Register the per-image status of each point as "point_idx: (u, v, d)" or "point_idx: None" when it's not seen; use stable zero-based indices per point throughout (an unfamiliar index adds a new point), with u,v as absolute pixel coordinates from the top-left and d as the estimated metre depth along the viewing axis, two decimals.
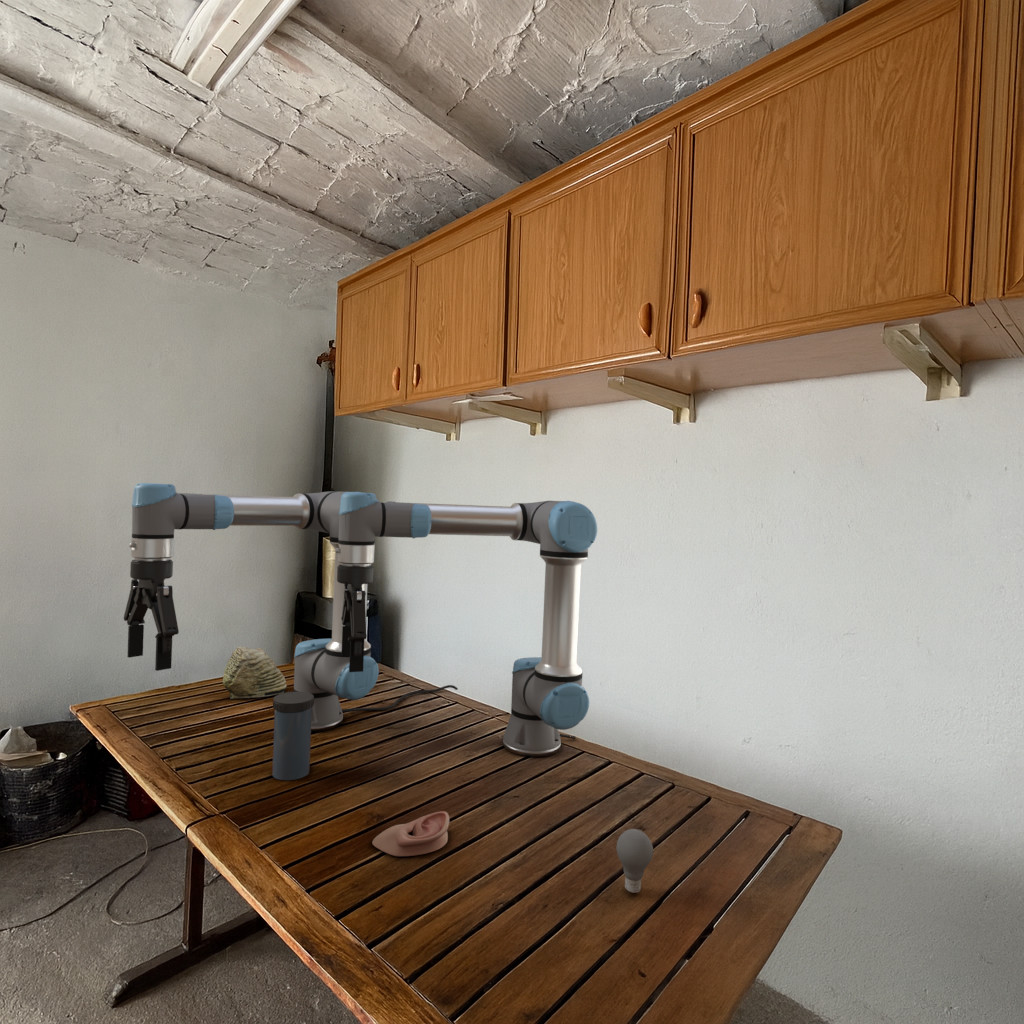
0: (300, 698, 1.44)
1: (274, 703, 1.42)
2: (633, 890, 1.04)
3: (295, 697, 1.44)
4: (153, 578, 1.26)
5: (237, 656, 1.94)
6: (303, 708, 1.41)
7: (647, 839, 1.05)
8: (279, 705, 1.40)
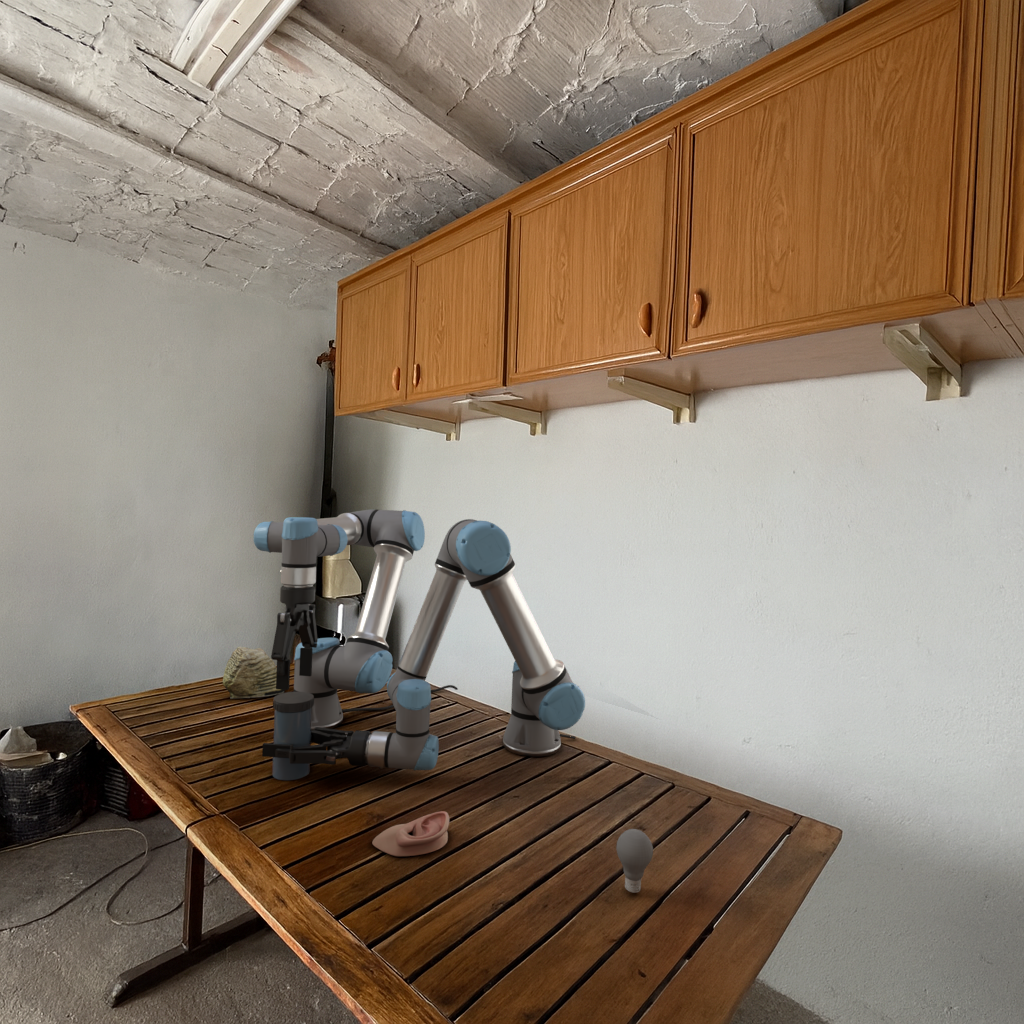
0: (300, 698, 1.44)
1: (274, 703, 1.42)
2: (633, 890, 1.04)
3: (295, 697, 1.44)
4: (285, 602, 1.40)
5: (237, 656, 1.94)
6: (303, 708, 1.41)
7: (647, 839, 1.05)
8: (279, 705, 1.40)
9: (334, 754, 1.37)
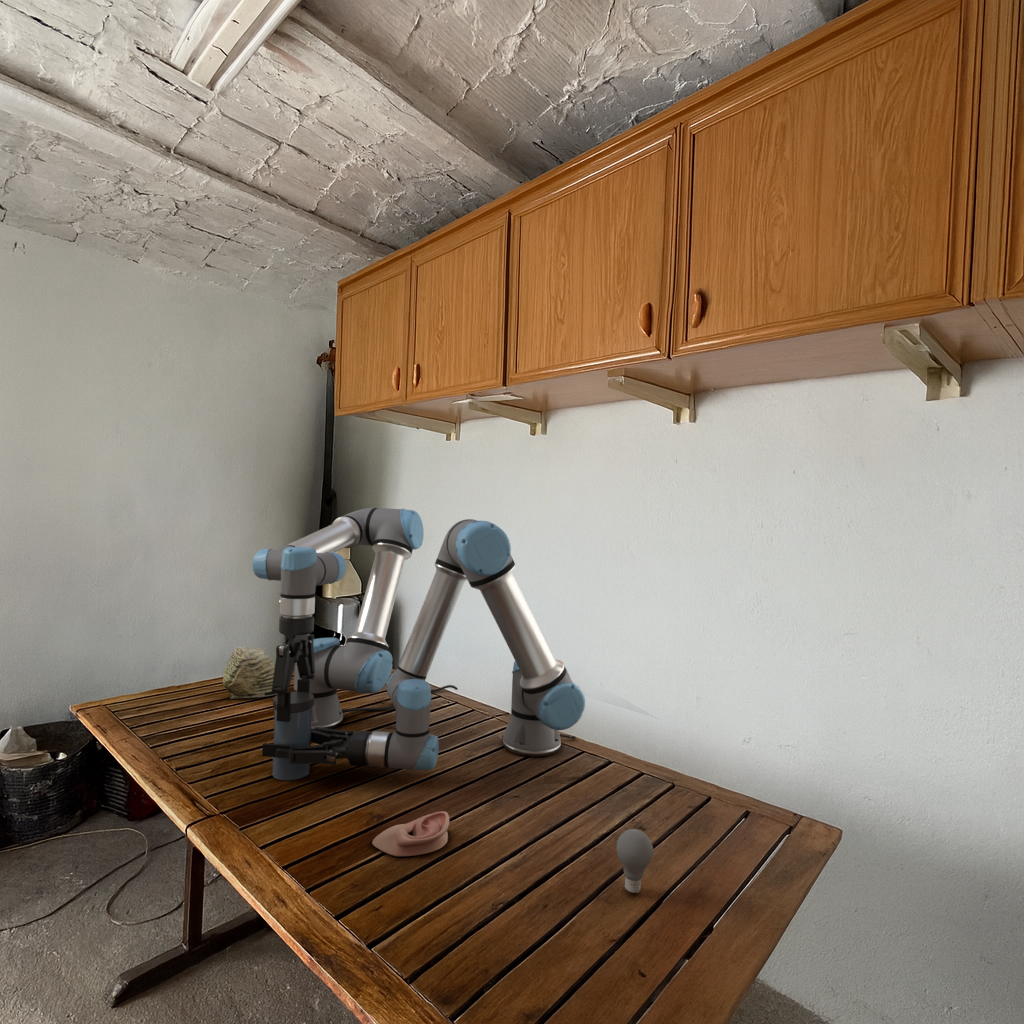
0: (300, 698, 1.44)
1: (274, 703, 1.42)
2: (633, 890, 1.04)
3: (295, 697, 1.44)
4: (284, 633, 1.41)
5: (237, 656, 1.94)
6: (303, 708, 1.41)
7: (647, 839, 1.05)
8: None
9: (334, 754, 1.37)
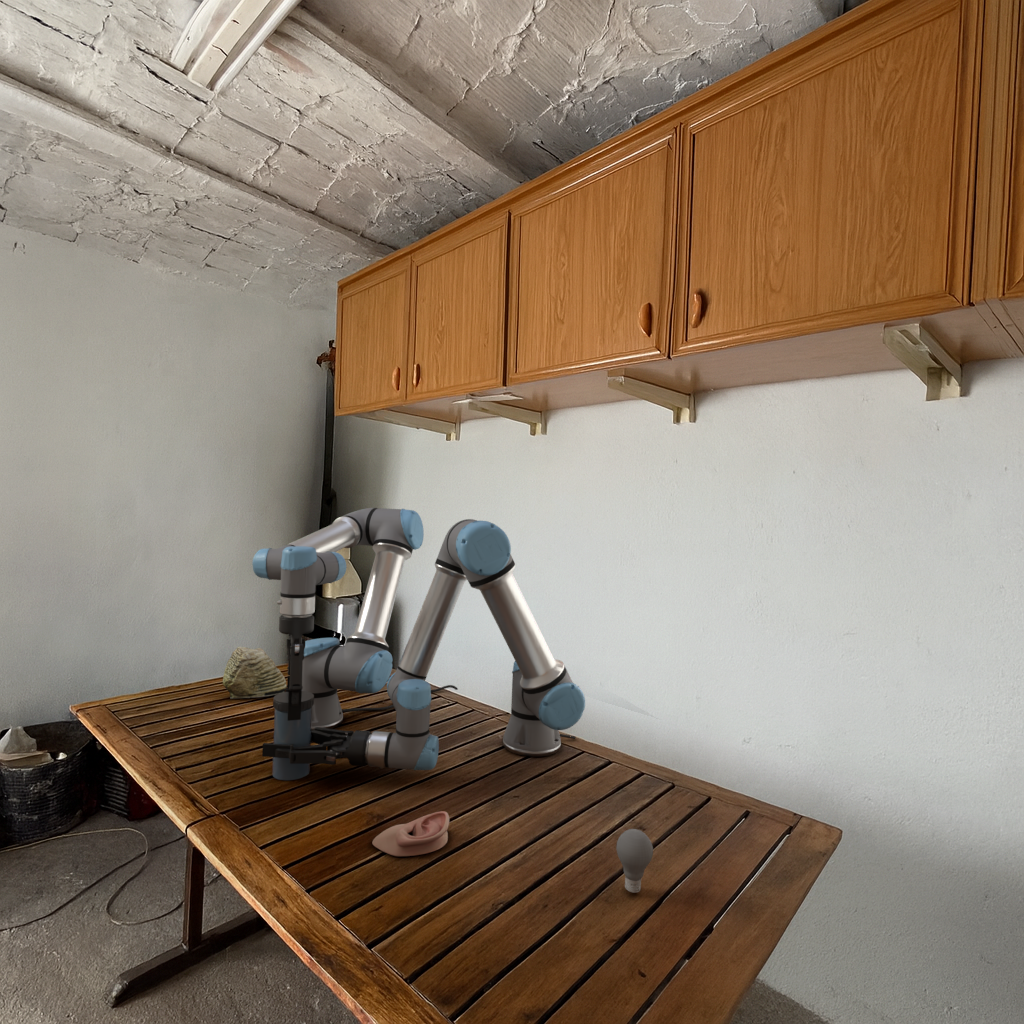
0: None
1: None
2: (633, 890, 1.04)
3: None
4: (291, 633, 1.40)
5: (237, 656, 1.94)
6: None
7: (647, 839, 1.05)
8: (302, 704, 1.41)
9: (334, 754, 1.37)
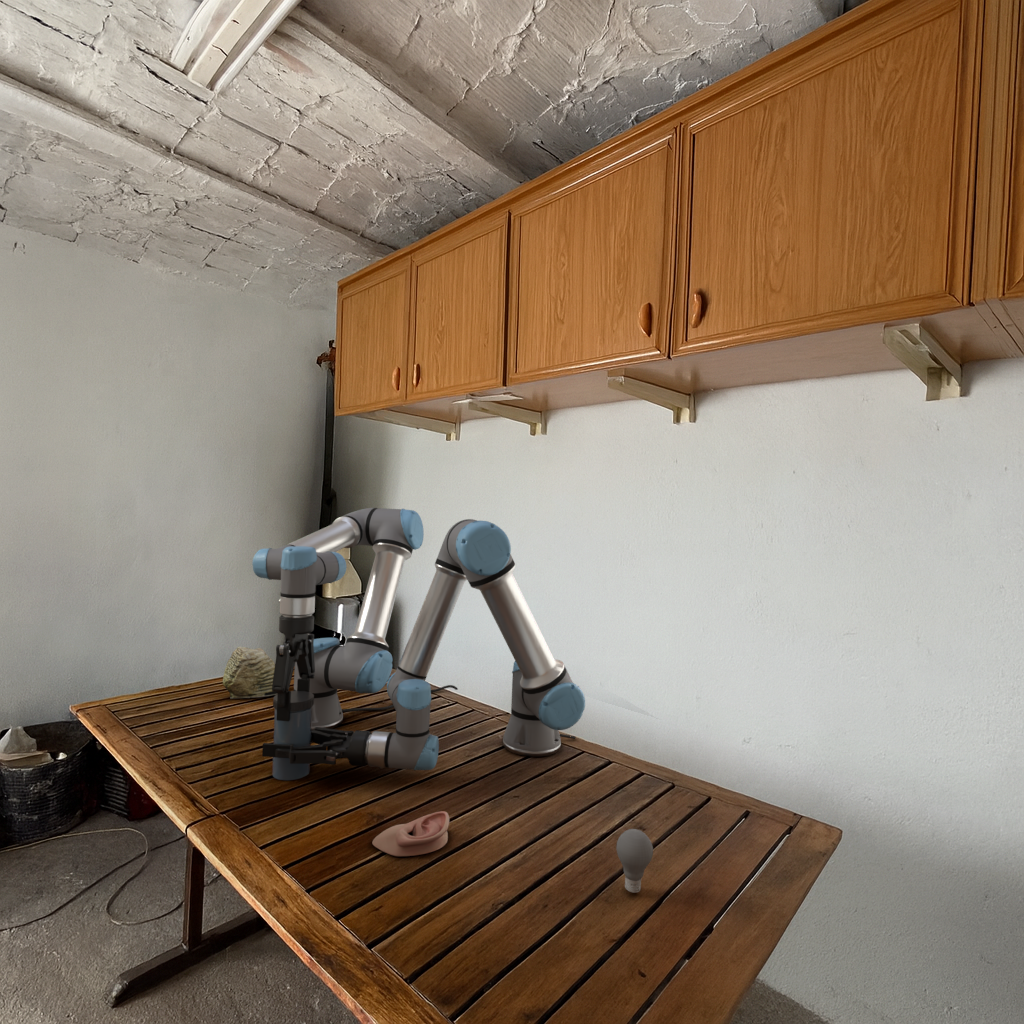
0: (300, 695, 1.46)
1: (293, 705, 1.40)
2: (633, 890, 1.04)
3: (295, 696, 1.45)
4: (284, 632, 1.41)
5: (237, 656, 1.94)
6: None
7: (647, 839, 1.05)
8: (302, 704, 1.41)
9: (334, 754, 1.37)
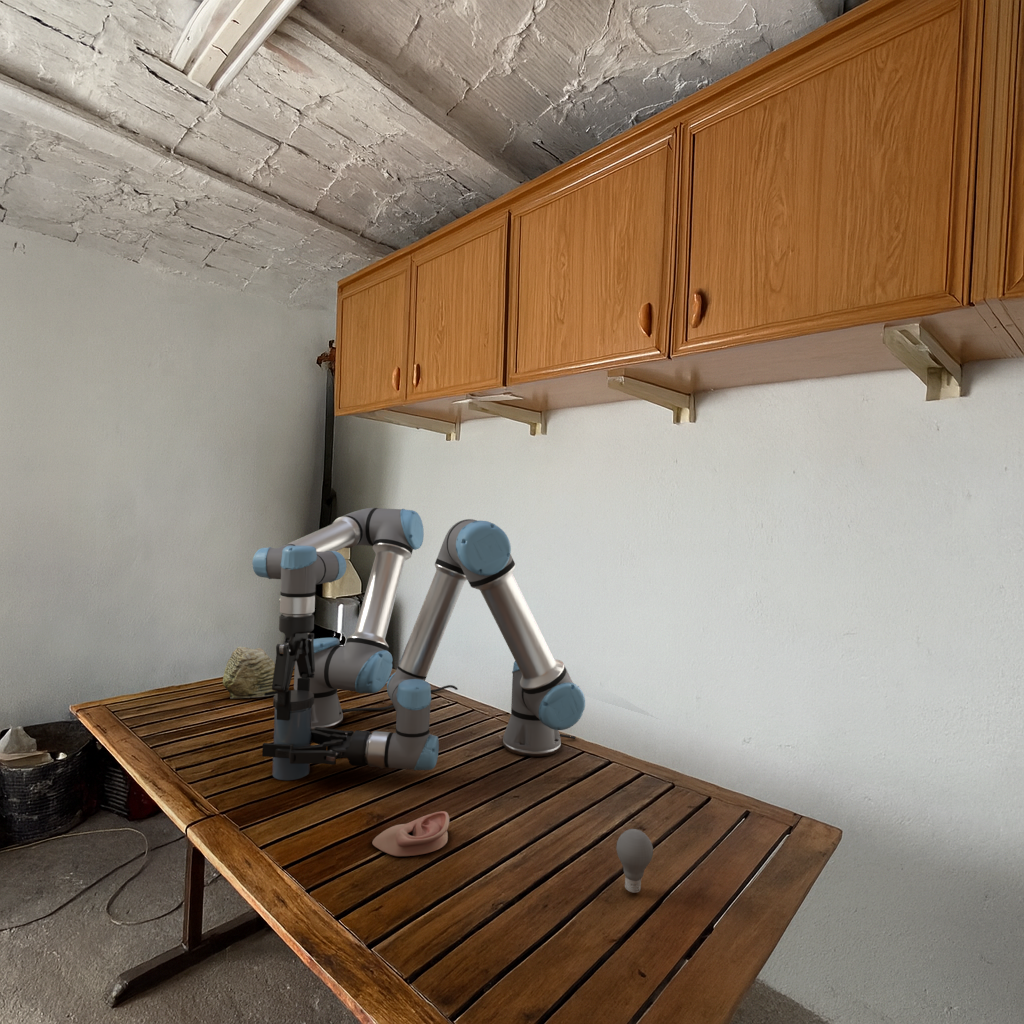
0: (292, 693, 1.46)
1: (312, 700, 1.44)
2: (633, 890, 1.04)
3: (293, 695, 1.45)
4: (284, 632, 1.41)
5: (237, 656, 1.94)
6: None
7: (647, 839, 1.05)
8: (313, 697, 1.46)
9: (334, 754, 1.37)
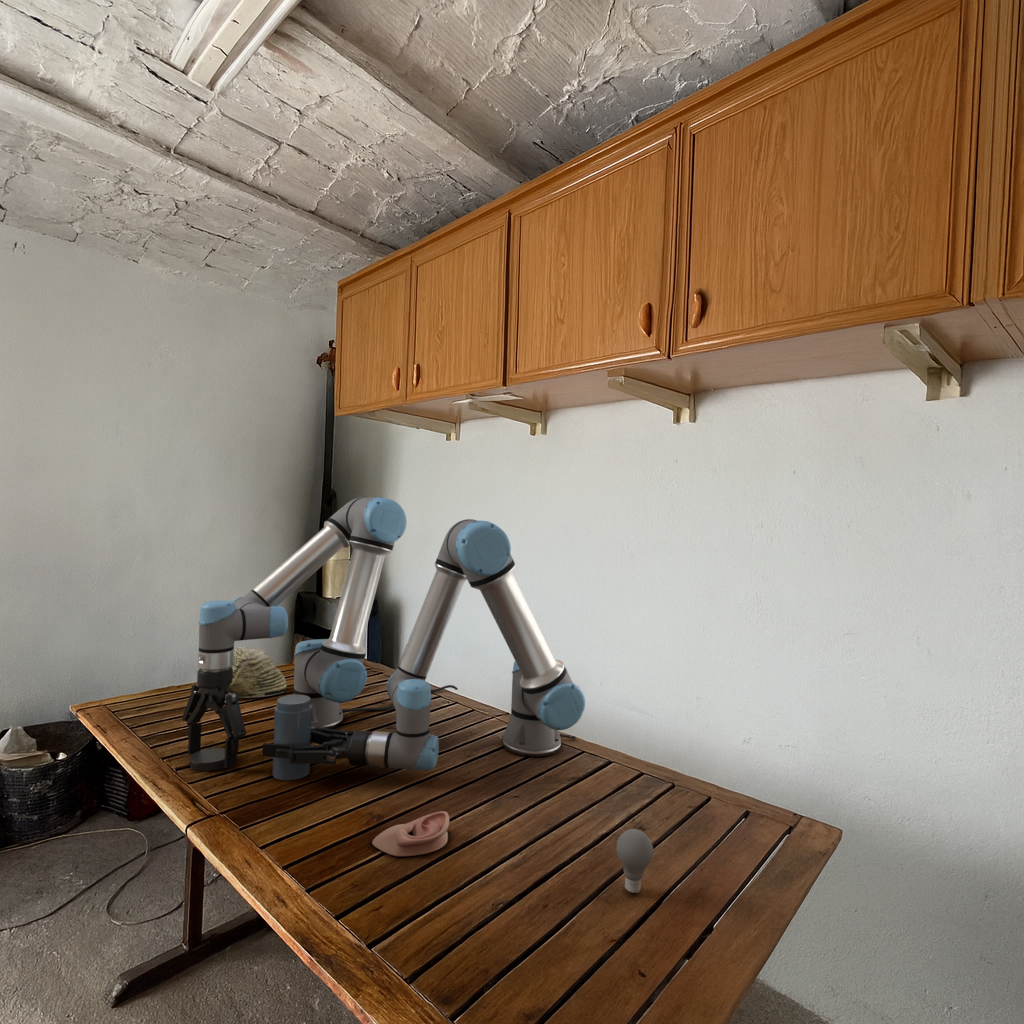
0: (203, 755, 1.47)
1: None
2: (633, 890, 1.04)
3: (209, 755, 1.47)
4: (220, 687, 1.45)
5: (237, 656, 1.94)
6: None
7: (647, 839, 1.05)
8: None
9: (334, 754, 1.37)
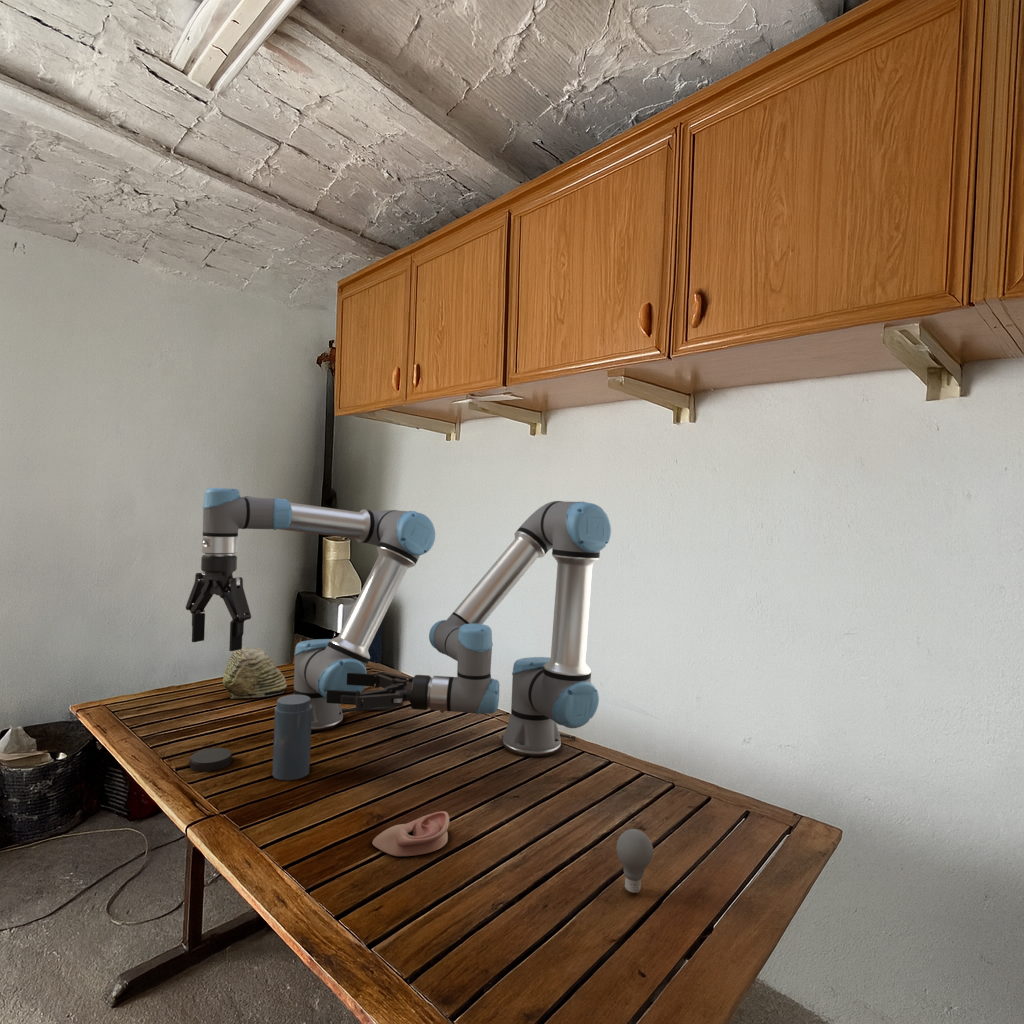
0: (203, 755, 1.47)
1: None
2: (633, 890, 1.04)
3: (209, 755, 1.47)
4: (225, 571, 1.44)
5: (237, 656, 1.94)
6: None
7: (647, 839, 1.05)
8: None
9: (402, 696, 1.36)
